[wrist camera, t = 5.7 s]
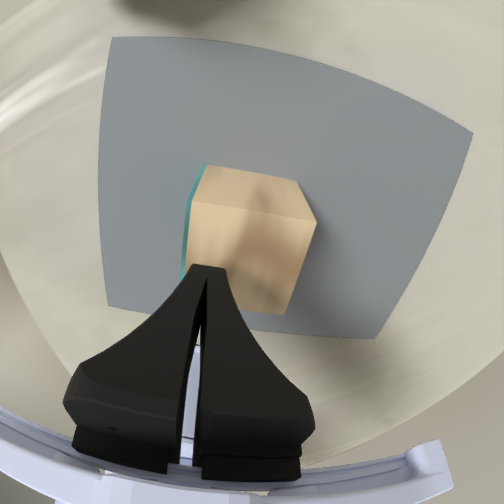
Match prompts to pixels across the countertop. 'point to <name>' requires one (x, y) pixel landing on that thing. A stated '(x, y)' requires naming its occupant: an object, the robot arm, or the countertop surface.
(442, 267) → the countertop surface
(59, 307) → the countertop surface
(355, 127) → the rubber mat
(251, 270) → the oak block
